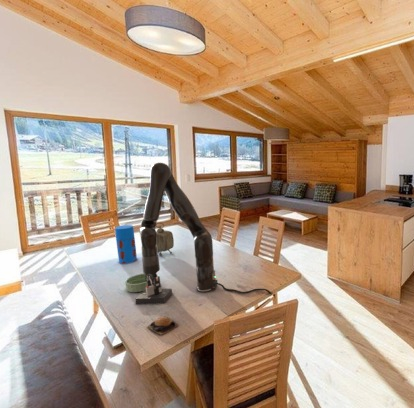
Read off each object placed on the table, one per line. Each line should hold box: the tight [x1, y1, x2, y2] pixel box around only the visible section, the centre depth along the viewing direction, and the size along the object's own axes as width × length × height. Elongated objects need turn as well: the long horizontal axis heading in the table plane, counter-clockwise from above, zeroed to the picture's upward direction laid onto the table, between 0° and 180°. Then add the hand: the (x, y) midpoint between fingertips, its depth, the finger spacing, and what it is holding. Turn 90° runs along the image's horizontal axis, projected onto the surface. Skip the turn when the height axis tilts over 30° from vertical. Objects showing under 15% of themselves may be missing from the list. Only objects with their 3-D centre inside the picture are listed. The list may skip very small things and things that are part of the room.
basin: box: [124, 273, 154, 293], centre depth 159 cm, size 15×15×5 cm
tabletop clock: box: [156, 222, 175, 257], centre depth 207 cm, size 14×9×25 cm, turn 79°
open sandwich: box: [147, 316, 178, 336], centre depth 122 cm, size 11×8×4 cm
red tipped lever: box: [146, 282, 163, 296], centre depth 145 cm, size 7×2×5 cm, turn 139°
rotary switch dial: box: [135, 288, 173, 305], centre depth 146 cm, size 14×11×3 cm
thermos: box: [114, 224, 138, 265], centre depth 195 cm, size 11×11×25 cm
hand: (153, 291), depth 145 cm, fingers open, 8 cm apart
